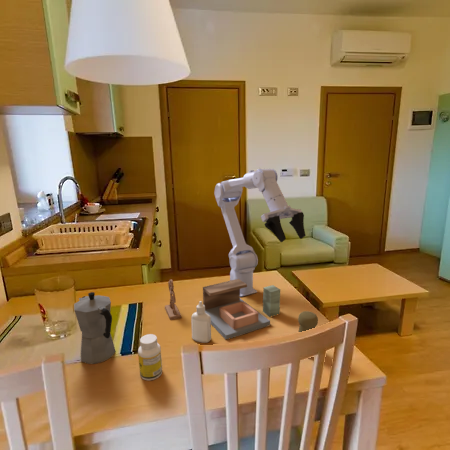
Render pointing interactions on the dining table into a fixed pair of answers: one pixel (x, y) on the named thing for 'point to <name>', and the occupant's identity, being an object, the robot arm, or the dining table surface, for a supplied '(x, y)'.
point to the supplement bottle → (149, 357)
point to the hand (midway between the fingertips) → (293, 238)
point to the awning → (222, 293)
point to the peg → (271, 300)
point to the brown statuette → (172, 304)
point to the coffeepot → (95, 328)
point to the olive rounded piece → (307, 320)
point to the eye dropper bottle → (201, 324)
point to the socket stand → (236, 319)
